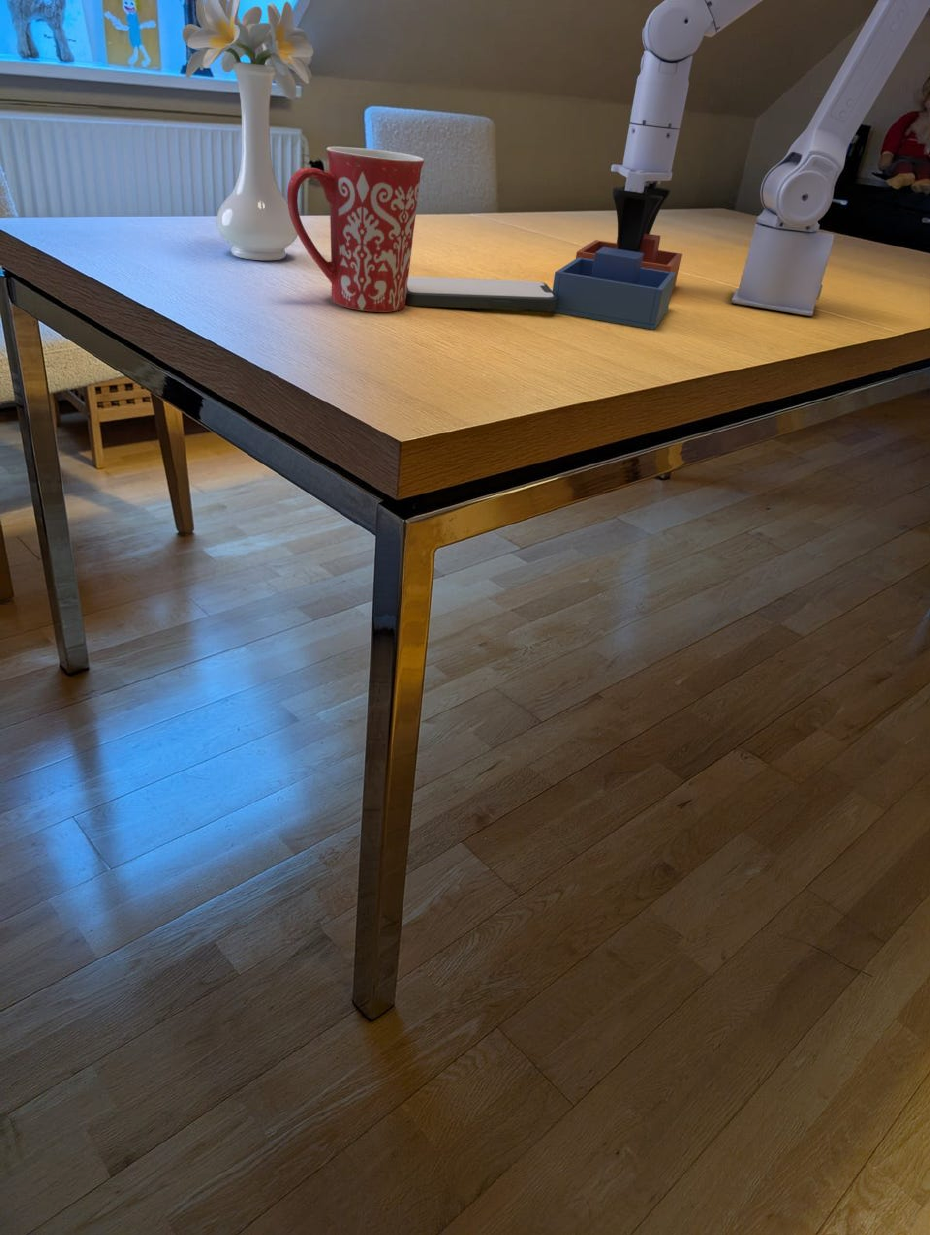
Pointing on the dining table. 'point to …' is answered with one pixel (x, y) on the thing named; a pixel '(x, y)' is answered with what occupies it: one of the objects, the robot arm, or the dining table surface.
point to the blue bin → (613, 295)
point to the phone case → (480, 294)
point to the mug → (365, 224)
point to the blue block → (617, 265)
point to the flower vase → (253, 114)
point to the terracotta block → (649, 247)
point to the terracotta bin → (663, 262)
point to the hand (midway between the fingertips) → (630, 253)
